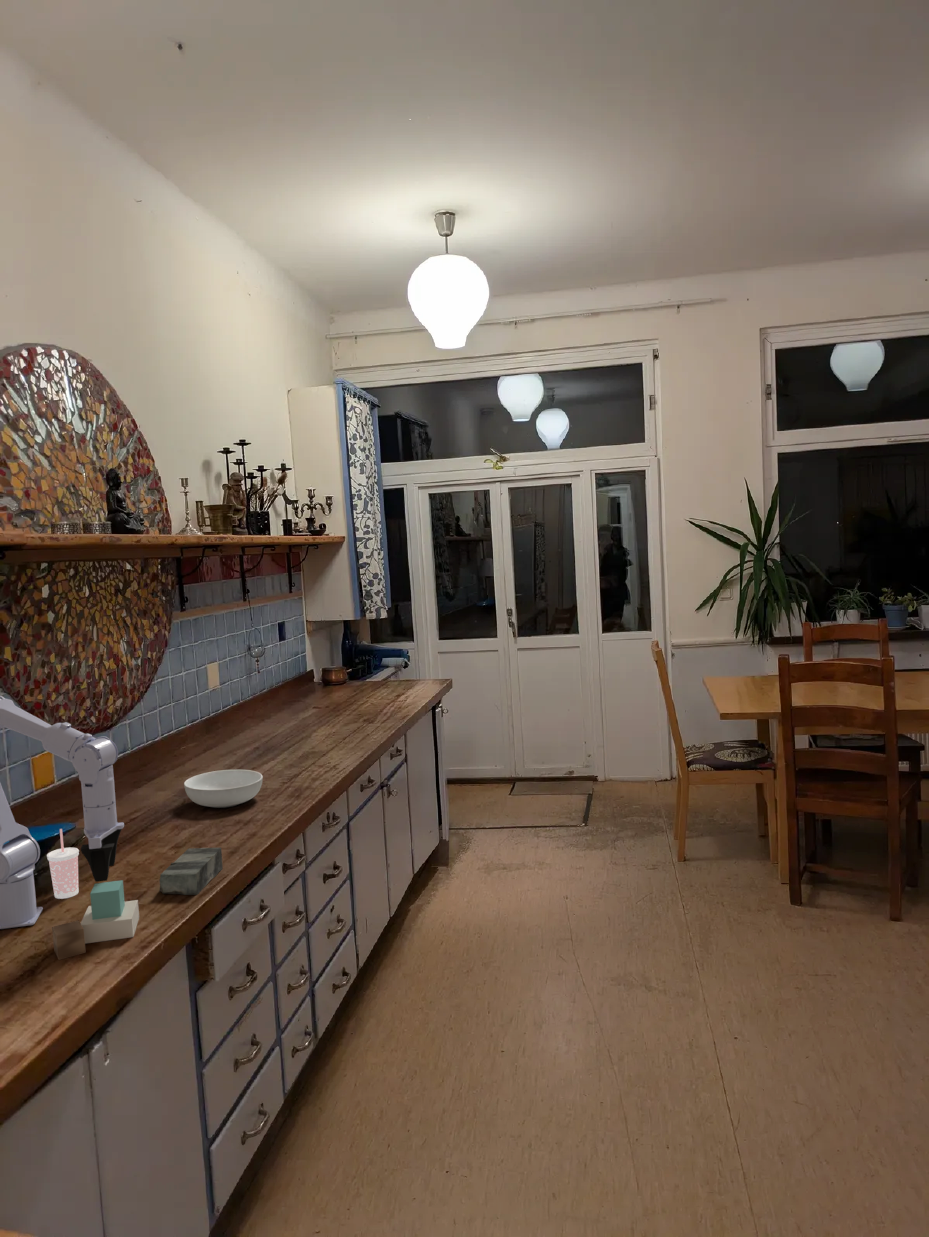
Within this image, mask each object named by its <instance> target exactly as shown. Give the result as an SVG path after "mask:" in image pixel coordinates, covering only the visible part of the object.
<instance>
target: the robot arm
mask: <svg viewBox="0 0 929 1237" xmlns="http://www.w3.org/2000/svg"><path fill="white" fill-rule="evenodd" d="M5 728H6V729H8V730H11V731H14V732H16V733H19V734H21V735H24V736H25V737H29V738H31V739H34V740H36V741H39V742H41V745H42V748H43V749H44V751H46V752H48V753H50V754H53V755H54V756H57V757H58V758H61V759H63V760H65V761H67V762H70V763H71V764H72V766H73V768H74V770H76V772H77V774H78V779H79V781H80V784H81V785H80V786H81V797H82V808H83V822H84V828H83V833H84V835H85V836H86V838H87V839H88V840H87V841H88V844H87V843H86V844H82V845H81V847H80V852H81V854H82V855H83V856H84V858H85V859H86V861H87V862H88V865H89V867H90V870H91V873H92V878H93V880H94V881H95V882H96V883H100V882H106V881H107V882H108V878H109V874H110V867H114V865H115V863H116V856H117V846H118V841H119V838H120V835H121V832H122V830H123V829H124V827H125V823H124V822H118V815H117V805H116V792H115V791H116V790H115V789H116V788H115V777H114V766H113V765H114V764H115V763H116V762H117V761H118V757H119V749H118V747H117V745H116V743H115V742H114V741H113V740H111V739H110V738H109V737H107V736H98V737H94V736H93V735H92V734H91V733H87V732H86V733H84V732H83V731H80V730H77V729H75V728H73V727H72V724H71V723H69V722H68V721H66V722H56V723H54V724H52V725H51V723H48V722H46V721H44V720H43V719H41V718H39V717H37V716H36V715H33V714H31V713H30V712H27V711H26V710H25V709H22V708H20V707H19V706H16V705H15V702H14V701H13V700H12V699H9V698H5V697H4V696H2V695H0V730H1V729H5ZM40 857H41V849H40V845H39V843H38V842H37V840H36V839H35V838H34V837H32V835H31V833H30V831H29V828H28V827H26V826H24V825H23V824H19V823H18V822H16V820H15V816H14V815H13V812H12V810H11V806H10V804H9V801H8V800H7V795H6V793H5V791H4V788H3V786H2V783H1V782H0V930H4V929H11V928H18V927H26V926H33V925H35V923H36V922H37V921H38V918H39V917H40V915H41V913H42V912H43V910H44V908H43V906H37V898H36V887H35V877H34V870H35V869H36V865H35V864H36V863H37V862H38V861H39V859H40Z"/></svg>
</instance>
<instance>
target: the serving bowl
mask: <svg viewBox="0 0 929 1237" xmlns="http://www.w3.org/2000/svg"><path fill="white" fill-rule="evenodd" d="M263 778H264V777H263V774H262V773H261V772H259V771H255V770H250V769H222V770H215V771H214V770H213V771H209V772H203V773H201V774H197V775H194V776H192V777H189V778H188V779H186V780H185V781H184V782H183V787H184V790H185V793H186V795H187V797H188V798H189V799H190V801H192V802H194V803H195V804H197V805H200V806H203V807H210V808H215V809H217V808H218V809H220V808H221V809H222V808H223V809H225V808H231V807H235V806H237V805H240V804H243V803H246V802H248V801H250V800H251V799H253V798H254V797H256V796H257V794H258V793H259V792H260V790H261V788H262V785H263Z"/></svg>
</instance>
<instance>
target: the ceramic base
mask: <svg viewBox="0 0 929 1237" xmlns="http://www.w3.org/2000/svg"><path fill="white" fill-rule="evenodd" d="M124 901H125V900H124ZM139 910H140V908H139V900H138V899H135V900H126V901H125V906H124V909H123V912H122V915H121V916H118V917H110V918H102V919H94V920H92V909H91V905H88V907H87V908H86V911H85V913H84V915H83V918H82V919H81V921H80V923H81V925H82V927H83V929H84V939H85V944H91V943H99V942H107V941H113V940H122V939H127V938H129V939H130V938H133V937H135V933H136V930H137V925H138V923H139V921H140V911H139Z"/></svg>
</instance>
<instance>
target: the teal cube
mask: <svg viewBox="0 0 929 1237" xmlns="http://www.w3.org/2000/svg"><path fill="white" fill-rule="evenodd" d="M124 889H125V888H124V880H123V879H122V880H121V879H120V880H113V881H107V882H106V881H103V882H96V883H94V885H93V887H92V889H91V891H90V893H89V898H90V906H91V909H92V920H94V919H102V918H110V917H118V916H121V915H122V912H123V909H124V906H125V890H124Z"/></svg>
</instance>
